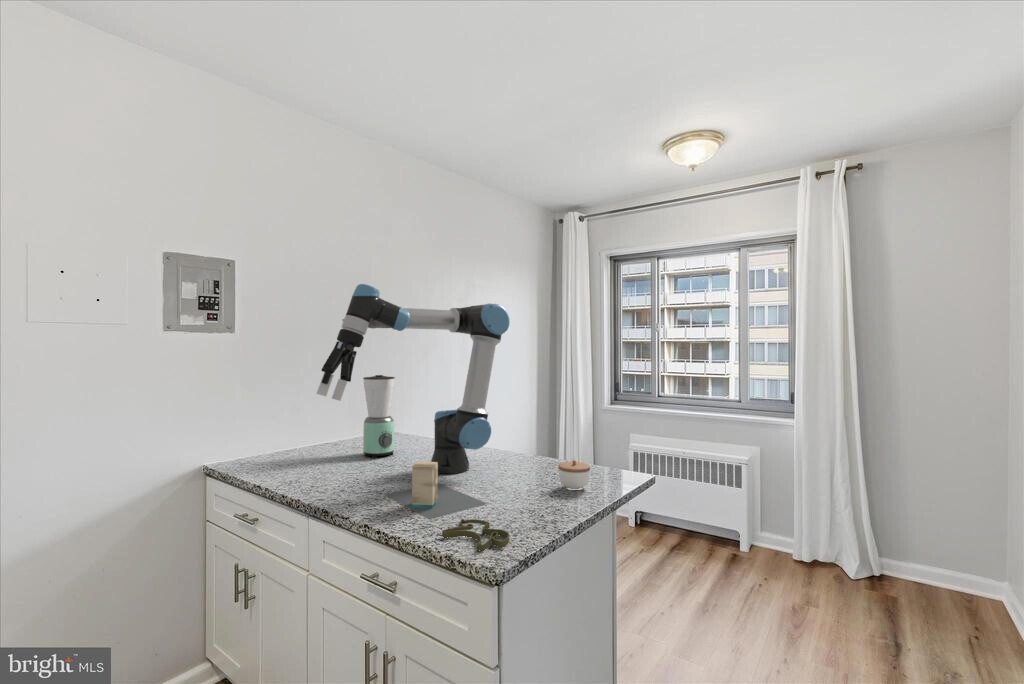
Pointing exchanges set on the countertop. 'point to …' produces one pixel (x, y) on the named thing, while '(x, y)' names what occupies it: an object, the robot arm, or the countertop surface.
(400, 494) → the charcoal mat
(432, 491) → the maple block
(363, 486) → the countertop surface
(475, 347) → the robot arm
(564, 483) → the lidded jar
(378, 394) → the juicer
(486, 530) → the cookie cutter
